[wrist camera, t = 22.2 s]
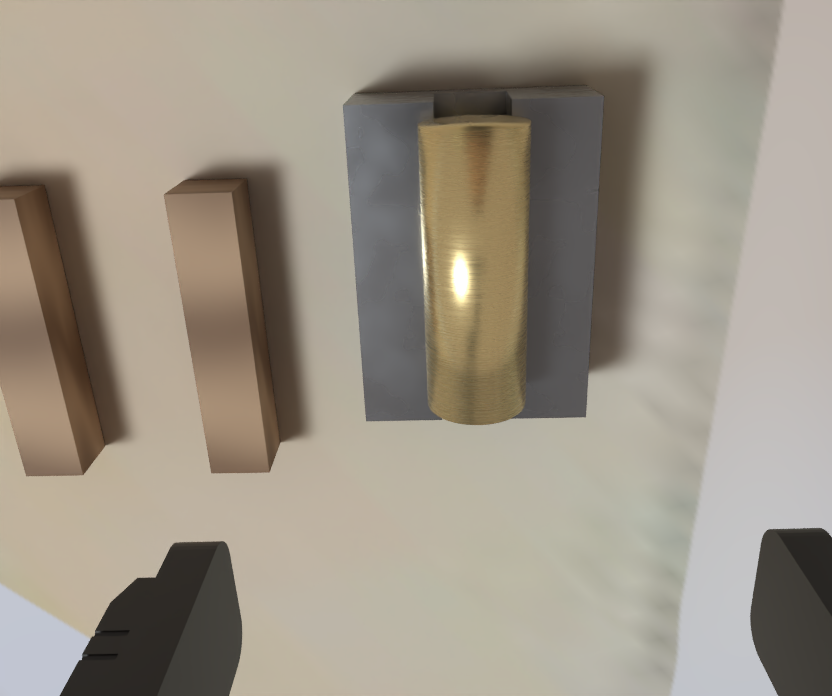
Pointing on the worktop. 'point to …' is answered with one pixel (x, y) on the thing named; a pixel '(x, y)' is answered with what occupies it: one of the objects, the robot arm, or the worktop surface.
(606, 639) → the worktop surface
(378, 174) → the v block
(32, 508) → the worktop surface
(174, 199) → the parallel bars
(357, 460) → the worktop surface
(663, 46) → the worktop surface
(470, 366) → the axle
